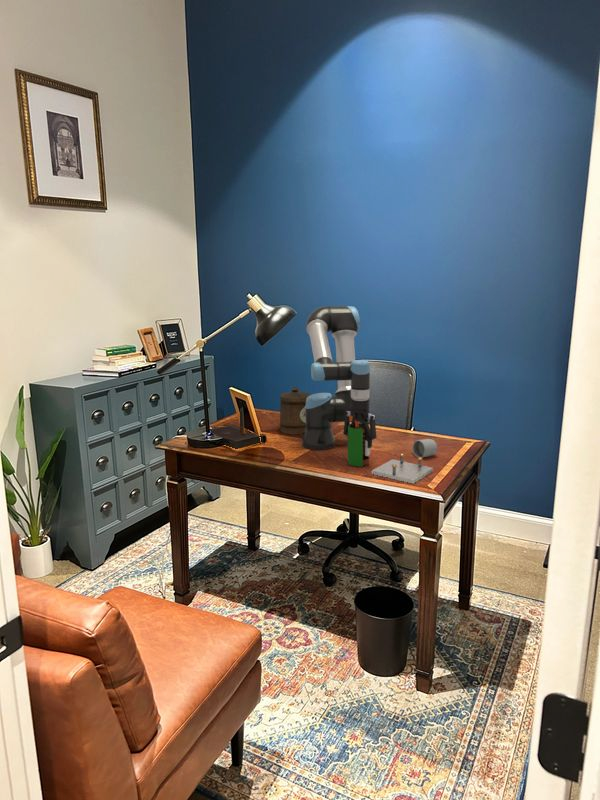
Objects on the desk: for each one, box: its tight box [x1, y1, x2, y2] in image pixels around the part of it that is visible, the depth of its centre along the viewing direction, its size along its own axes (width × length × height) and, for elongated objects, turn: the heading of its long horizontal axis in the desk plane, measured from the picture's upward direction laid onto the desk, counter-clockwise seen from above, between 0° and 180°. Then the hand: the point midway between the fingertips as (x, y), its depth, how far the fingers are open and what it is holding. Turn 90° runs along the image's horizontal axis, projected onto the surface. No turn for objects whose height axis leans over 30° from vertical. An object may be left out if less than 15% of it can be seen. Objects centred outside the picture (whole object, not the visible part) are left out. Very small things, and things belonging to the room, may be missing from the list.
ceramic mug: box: [412, 438, 438, 459], centre depth 258 cm, size 11×8×8 cm
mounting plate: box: [371, 452, 434, 485], centre depth 237 cm, size 18×17×5 cm
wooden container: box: [279, 386, 311, 435], centre depth 295 cm, size 15×15×22 cm
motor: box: [347, 415, 370, 468], centre depth 247 cm, size 10×9×20 cm
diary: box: [203, 424, 268, 449], centre depth 280 cm, size 19×25×5 cm
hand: (359, 453), depth 248 cm, fingers closed on motor, 7 cm apart
